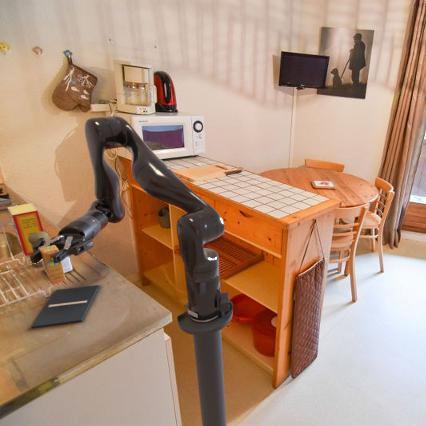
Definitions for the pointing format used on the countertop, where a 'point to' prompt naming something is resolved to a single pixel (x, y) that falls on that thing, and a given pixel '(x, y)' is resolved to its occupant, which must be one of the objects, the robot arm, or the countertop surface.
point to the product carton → (65, 264)
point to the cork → (34, 238)
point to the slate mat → (66, 306)
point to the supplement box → (52, 265)
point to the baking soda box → (25, 224)
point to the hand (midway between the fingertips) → (44, 260)
